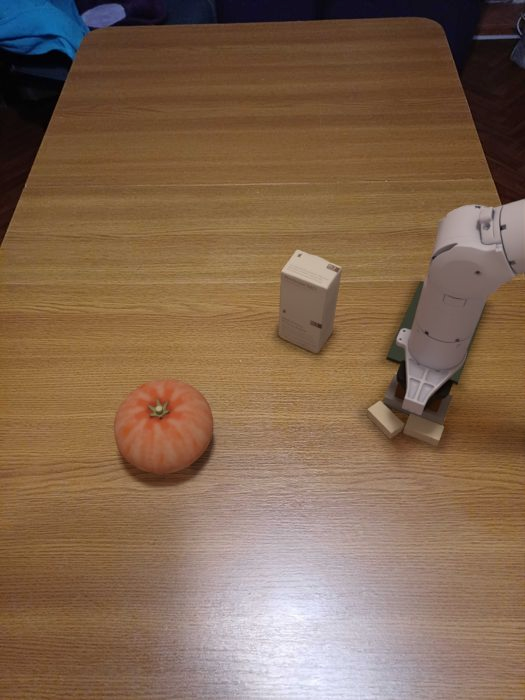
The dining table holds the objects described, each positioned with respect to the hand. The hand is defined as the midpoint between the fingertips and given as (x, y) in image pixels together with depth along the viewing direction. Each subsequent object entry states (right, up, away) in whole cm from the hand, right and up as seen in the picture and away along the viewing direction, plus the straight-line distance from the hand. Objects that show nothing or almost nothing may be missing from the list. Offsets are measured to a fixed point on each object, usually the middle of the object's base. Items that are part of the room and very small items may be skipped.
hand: (420, 395), depth 70 cm
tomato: (-29, -6, +1) cm, 29 cm away
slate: (+5, +8, +9) cm, 13 cm away
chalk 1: (-4, -3, +1) cm, 5 cm away
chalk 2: (0, -4, 0) cm, 4 cm away
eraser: (0, -1, +2) cm, 2 cm away
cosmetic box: (-12, +7, +9) cm, 17 cm away
